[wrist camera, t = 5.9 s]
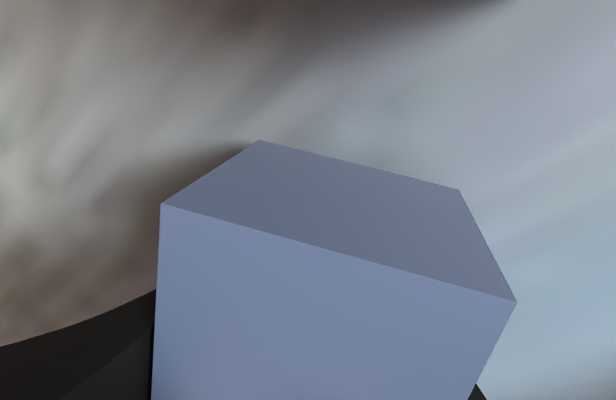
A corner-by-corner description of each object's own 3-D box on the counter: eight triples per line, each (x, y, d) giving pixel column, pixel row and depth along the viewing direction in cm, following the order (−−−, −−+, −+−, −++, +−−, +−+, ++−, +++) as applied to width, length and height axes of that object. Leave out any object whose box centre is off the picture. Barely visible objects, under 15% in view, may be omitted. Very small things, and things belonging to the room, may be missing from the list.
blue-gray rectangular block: (376, 406, 14) (369, 592, 9) (226, 358, 14) (145, 507, 10) (458, 189, 10) (517, 302, 6) (259, 140, 11) (160, 203, 6)
